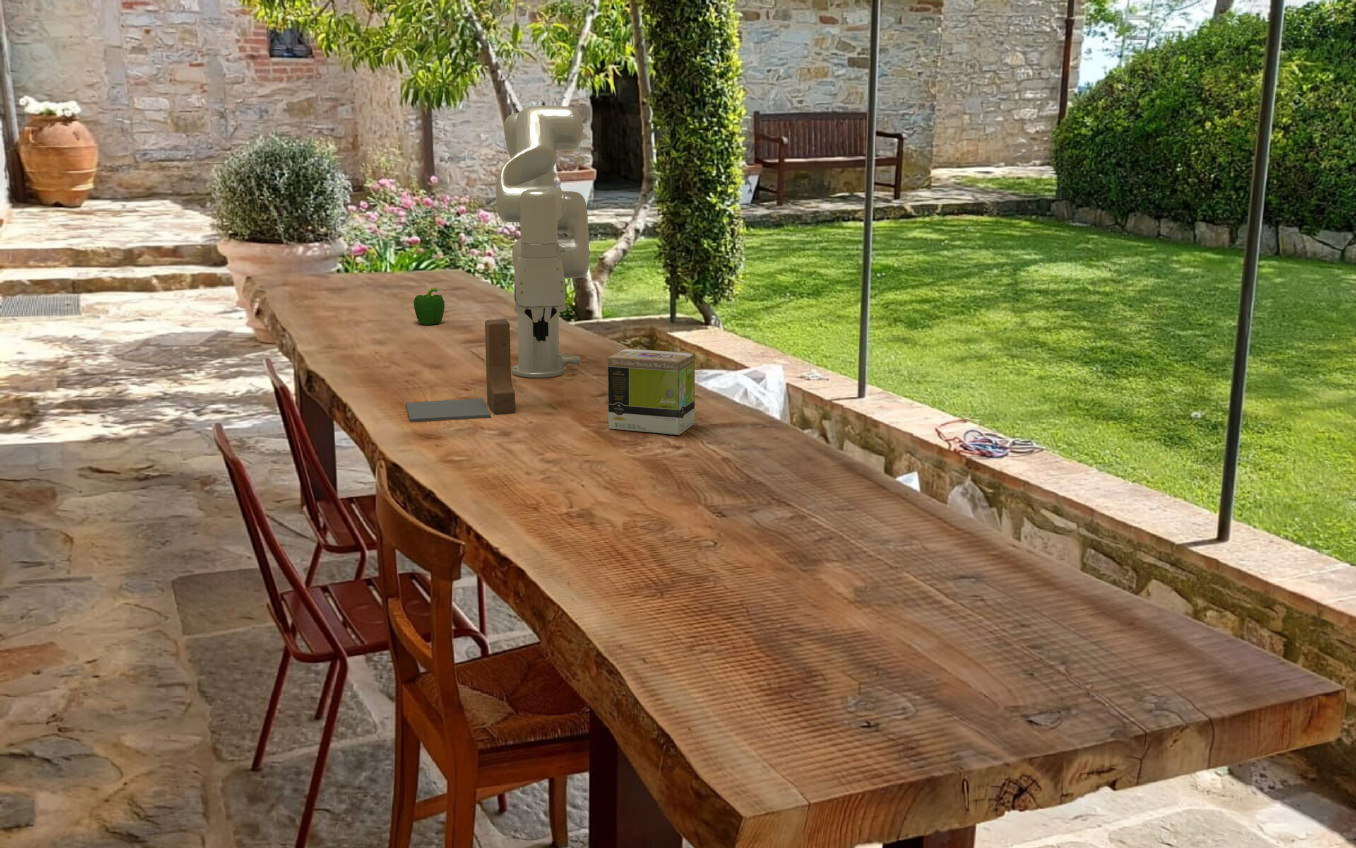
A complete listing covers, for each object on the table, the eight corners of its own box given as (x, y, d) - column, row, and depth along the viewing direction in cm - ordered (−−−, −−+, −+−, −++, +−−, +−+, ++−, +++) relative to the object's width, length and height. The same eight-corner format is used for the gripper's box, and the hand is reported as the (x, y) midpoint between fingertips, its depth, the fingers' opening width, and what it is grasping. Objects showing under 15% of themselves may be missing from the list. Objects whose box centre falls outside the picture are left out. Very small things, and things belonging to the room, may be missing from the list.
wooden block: (515, 413, 264) (513, 326, 260) (493, 414, 263) (491, 327, 258) (508, 402, 272) (506, 318, 268) (486, 404, 271) (484, 319, 267)
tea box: (695, 424, 257) (696, 351, 253) (679, 437, 248) (680, 361, 244) (625, 417, 262) (625, 346, 258) (606, 429, 253) (606, 355, 249)
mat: (482, 401, 273) (482, 398, 273) (490, 417, 260) (490, 414, 260) (405, 405, 269) (405, 402, 269) (410, 421, 256) (410, 419, 256)
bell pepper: (408, 325, 357) (407, 289, 354) (422, 320, 364) (421, 285, 362) (436, 327, 354) (434, 291, 352) (449, 322, 362) (448, 286, 359)
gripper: (572, 248, 267) (573, 335, 272) (500, 249, 263) (502, 338, 268) (579, 252, 260) (579, 342, 265) (505, 254, 256) (507, 345, 261)
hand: (540, 340), depth 266 cm, fingers closed
